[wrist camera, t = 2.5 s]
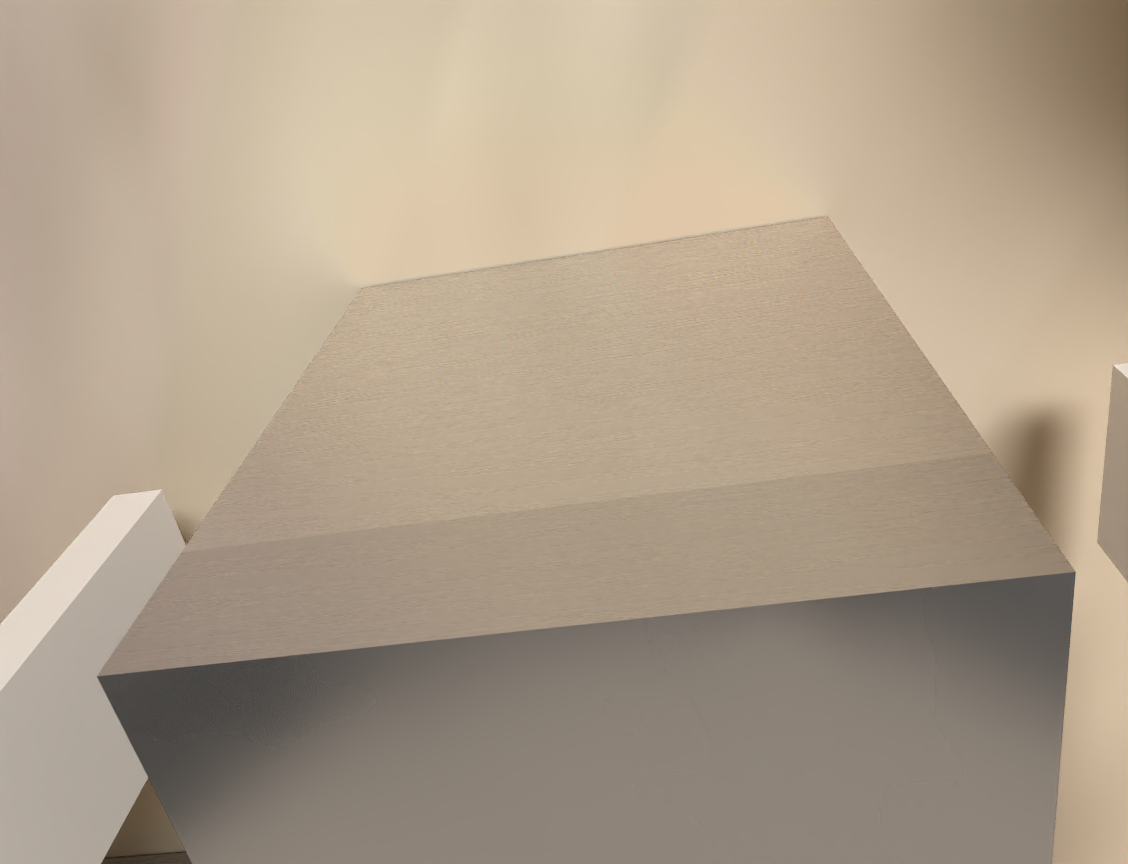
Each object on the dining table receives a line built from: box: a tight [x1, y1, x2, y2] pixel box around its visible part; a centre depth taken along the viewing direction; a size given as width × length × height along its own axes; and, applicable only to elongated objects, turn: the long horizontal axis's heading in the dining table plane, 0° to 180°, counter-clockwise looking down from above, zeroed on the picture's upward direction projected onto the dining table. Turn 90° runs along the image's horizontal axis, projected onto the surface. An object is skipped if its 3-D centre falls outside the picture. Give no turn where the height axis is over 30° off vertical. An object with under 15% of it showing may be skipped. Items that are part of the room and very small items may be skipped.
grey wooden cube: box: [97, 217, 1076, 864], centre depth 11 cm, size 6×6×8 cm
